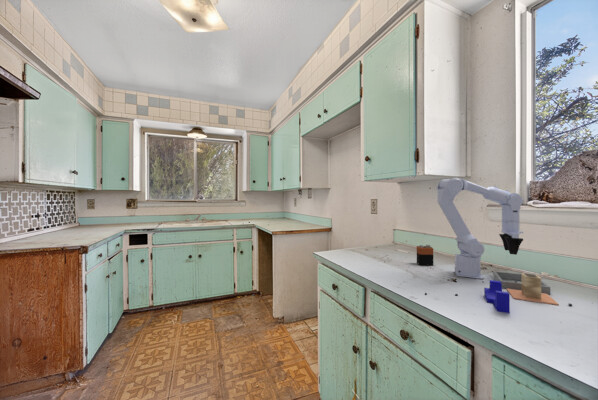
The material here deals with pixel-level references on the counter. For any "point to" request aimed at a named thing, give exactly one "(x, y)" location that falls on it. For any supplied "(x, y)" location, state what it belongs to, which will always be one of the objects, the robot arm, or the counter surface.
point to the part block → (531, 285)
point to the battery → (425, 255)
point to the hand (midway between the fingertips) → (510, 252)
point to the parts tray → (514, 285)
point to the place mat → (544, 298)
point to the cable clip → (497, 296)
